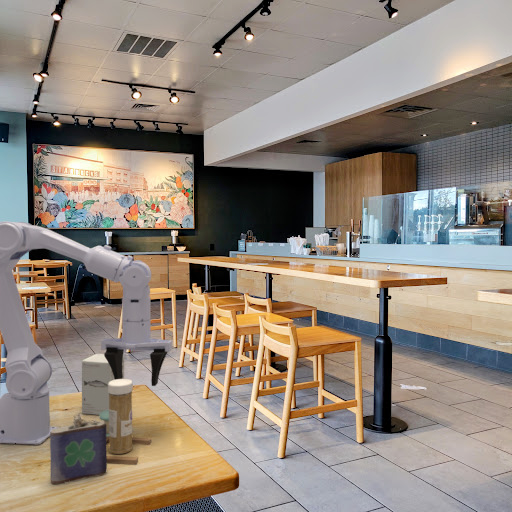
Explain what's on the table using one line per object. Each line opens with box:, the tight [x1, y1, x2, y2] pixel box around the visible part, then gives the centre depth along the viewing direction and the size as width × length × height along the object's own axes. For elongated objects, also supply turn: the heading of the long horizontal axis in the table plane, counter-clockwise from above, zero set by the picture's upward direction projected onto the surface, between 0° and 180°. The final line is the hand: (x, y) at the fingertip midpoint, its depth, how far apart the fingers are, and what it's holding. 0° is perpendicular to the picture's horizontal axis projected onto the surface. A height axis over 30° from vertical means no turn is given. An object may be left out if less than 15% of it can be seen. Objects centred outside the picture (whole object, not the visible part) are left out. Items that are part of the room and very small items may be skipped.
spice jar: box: [108, 378, 134, 455], centre depth 96 cm, size 5×5×13 cm
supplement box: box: [81, 353, 125, 416], centre depth 117 cm, size 7×7×13 cm
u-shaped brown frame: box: [106, 436, 152, 465], centre depth 96 cm, size 10×10×1 cm
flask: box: [49, 413, 108, 485], centre depth 86 cm, size 9×3×11 cm, turn 117°
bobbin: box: [98, 410, 110, 436], centre depth 103 cm, size 5×5×4 cm
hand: (136, 383), depth 104 cm, fingers open, 7 cm apart
